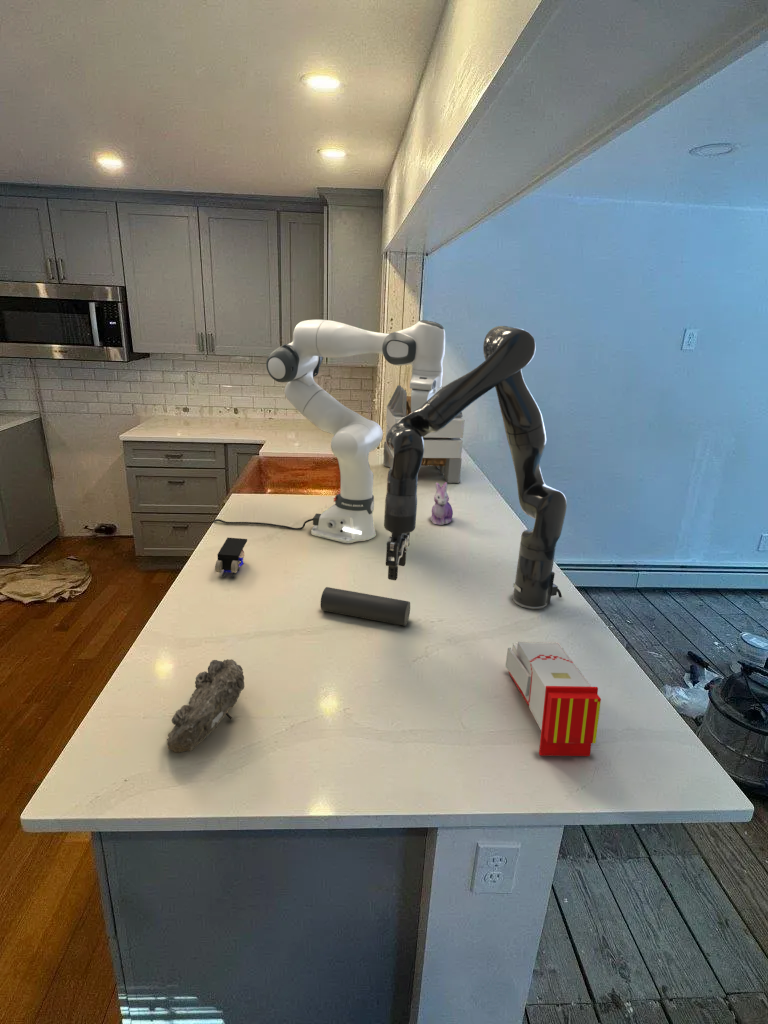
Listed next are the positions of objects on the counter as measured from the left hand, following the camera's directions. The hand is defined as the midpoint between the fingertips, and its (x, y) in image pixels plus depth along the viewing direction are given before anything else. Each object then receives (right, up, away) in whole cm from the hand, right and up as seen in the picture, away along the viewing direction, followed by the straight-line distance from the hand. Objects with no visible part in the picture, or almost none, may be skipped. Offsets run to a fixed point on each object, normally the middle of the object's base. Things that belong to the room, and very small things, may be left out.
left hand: (422, 427), depth 169 cm
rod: (-16, -52, -23) cm, 59 cm away
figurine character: (-56, -42, -1) cm, 70 cm away
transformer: (+6, -6, +106) cm, 107 cm away
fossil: (-44, -64, -60) cm, 99 cm away
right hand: (-8, -40, -30) cm, 50 cm away
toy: (+21, -65, -54) cm, 86 cm away
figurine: (+10, -29, +45) cm, 54 cm away
